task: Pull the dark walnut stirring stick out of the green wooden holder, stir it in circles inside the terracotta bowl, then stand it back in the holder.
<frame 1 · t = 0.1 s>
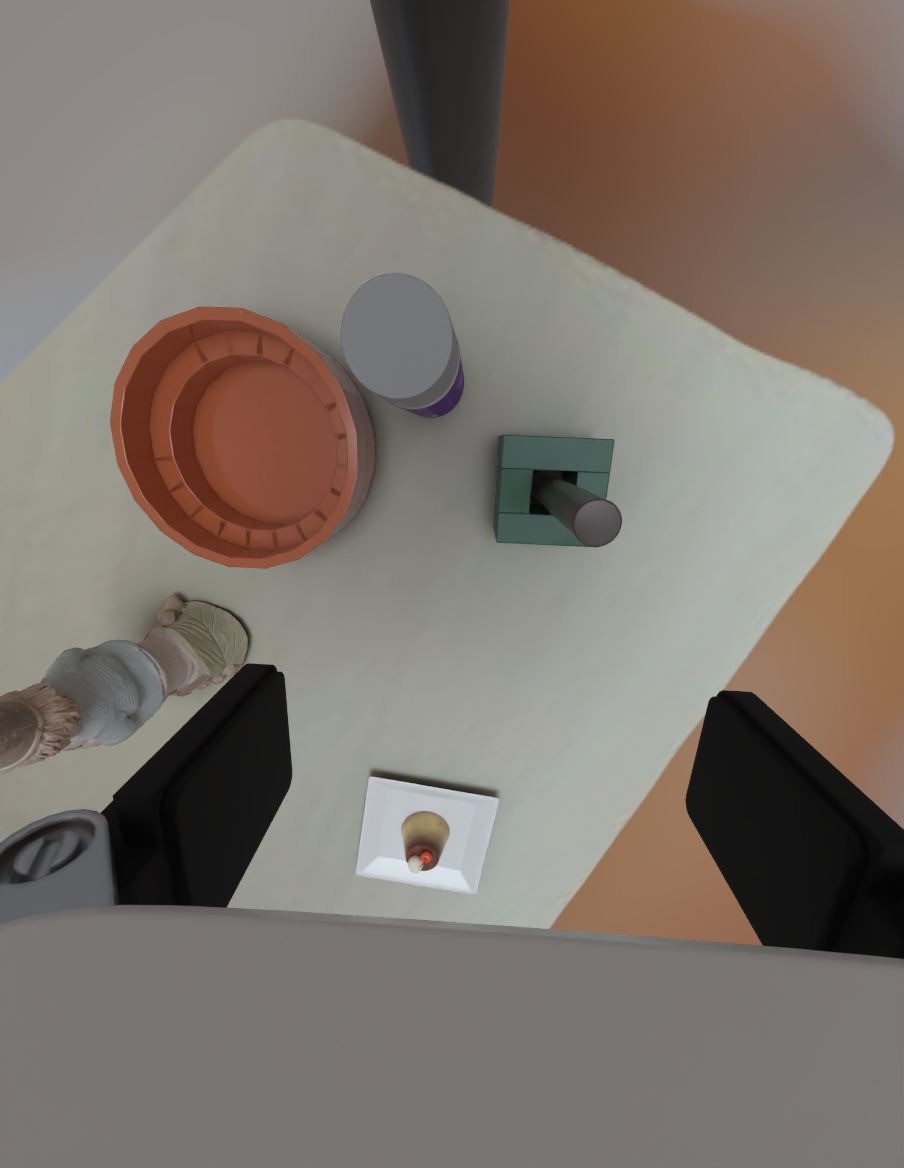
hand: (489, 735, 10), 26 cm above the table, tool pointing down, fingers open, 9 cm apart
holder: (542, 485, 34), on the table
figurine: (198, 637, 39), on the table
container: (431, 382, 32), on the table
stick: (561, 499, 26), in the holder
bowl: (274, 446, 34), on the table
dessert: (425, 827, 45), on the table
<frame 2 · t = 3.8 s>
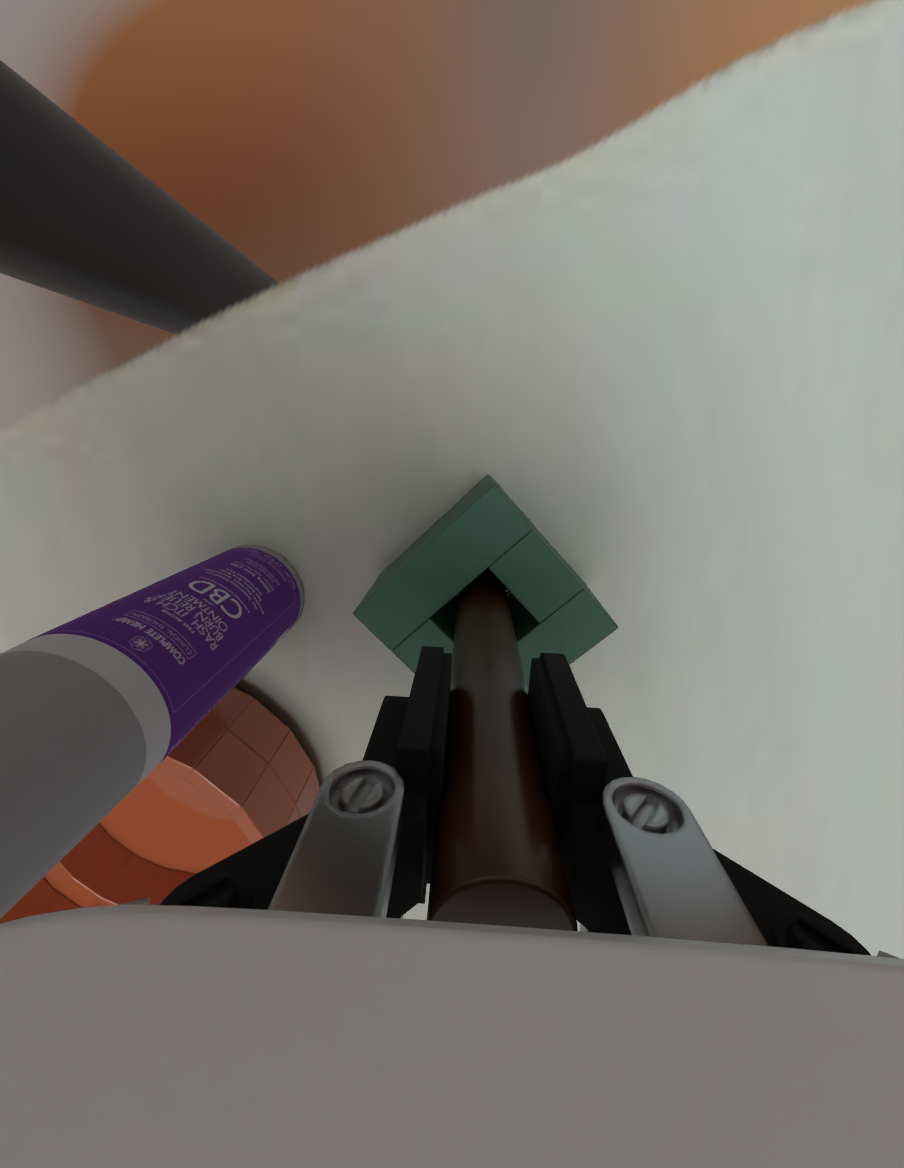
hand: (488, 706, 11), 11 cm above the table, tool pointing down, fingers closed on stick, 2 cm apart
holder: (482, 580, 21), on the table
container: (258, 591, 22), on the table
stick: (485, 658, 14), in the holder, touching gripper
bowl: (190, 783, 26), on the table
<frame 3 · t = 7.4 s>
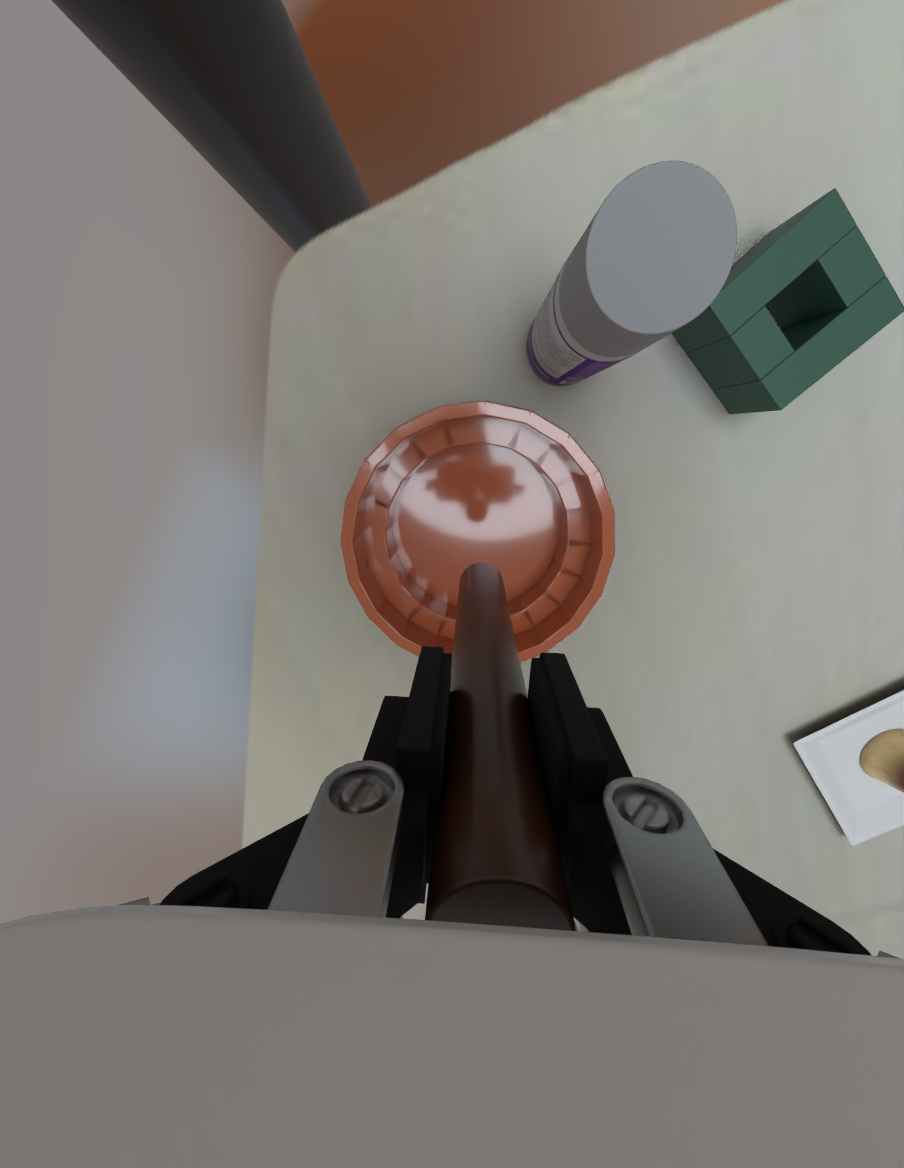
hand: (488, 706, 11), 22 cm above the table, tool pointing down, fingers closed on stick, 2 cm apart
holder: (748, 328, 27), on the table
container: (564, 345, 28), on the table
stick: (485, 661, 14), point 19 cm above the table, touching gripper
bowl: (475, 527, 32), on the table
dessert: (886, 750, 36), on the table
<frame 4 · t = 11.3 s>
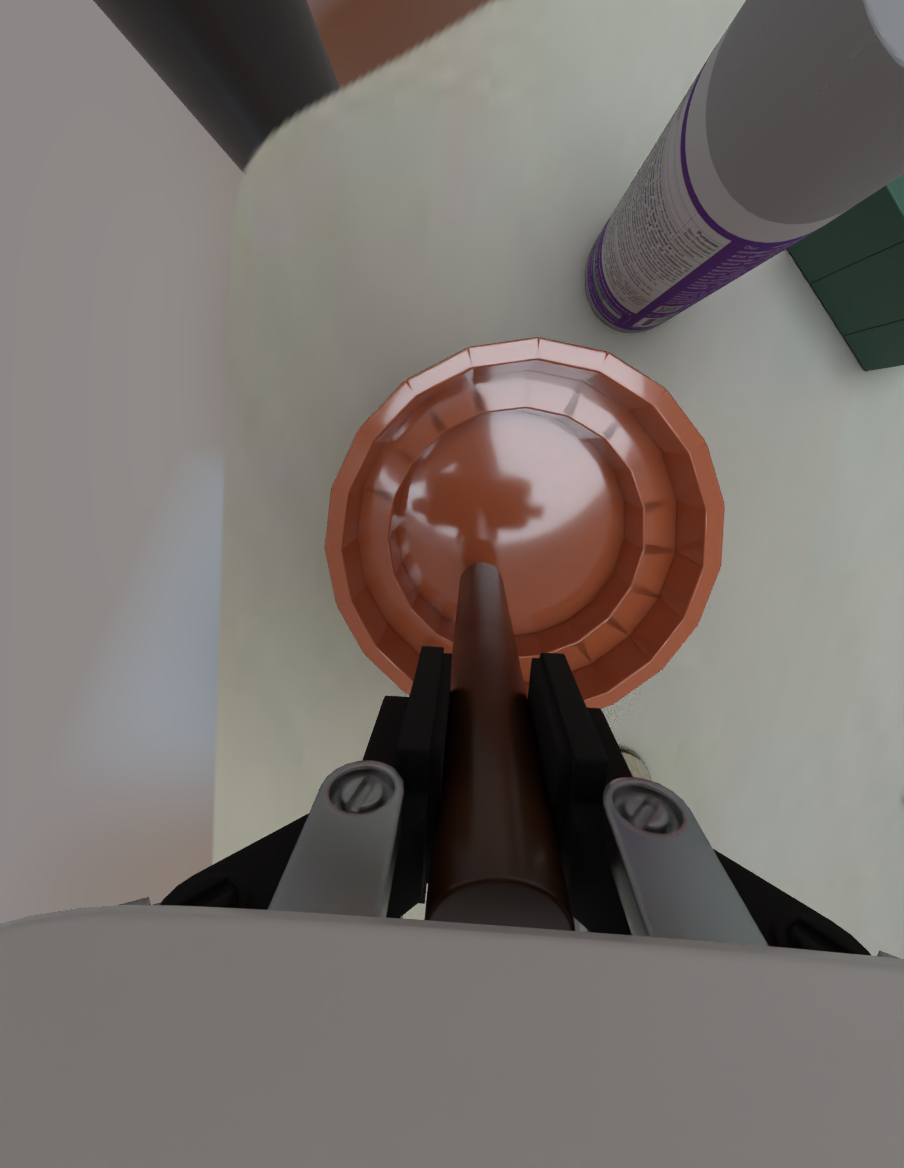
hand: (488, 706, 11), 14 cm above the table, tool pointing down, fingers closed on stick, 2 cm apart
holder: (900, 247, 19), on the table
figurine: (578, 798, 29), on the table
container: (637, 274, 20), on the table
stick: (485, 660, 14), point 11 cm above the table, touching gripper
bowl: (508, 529, 24), on the table
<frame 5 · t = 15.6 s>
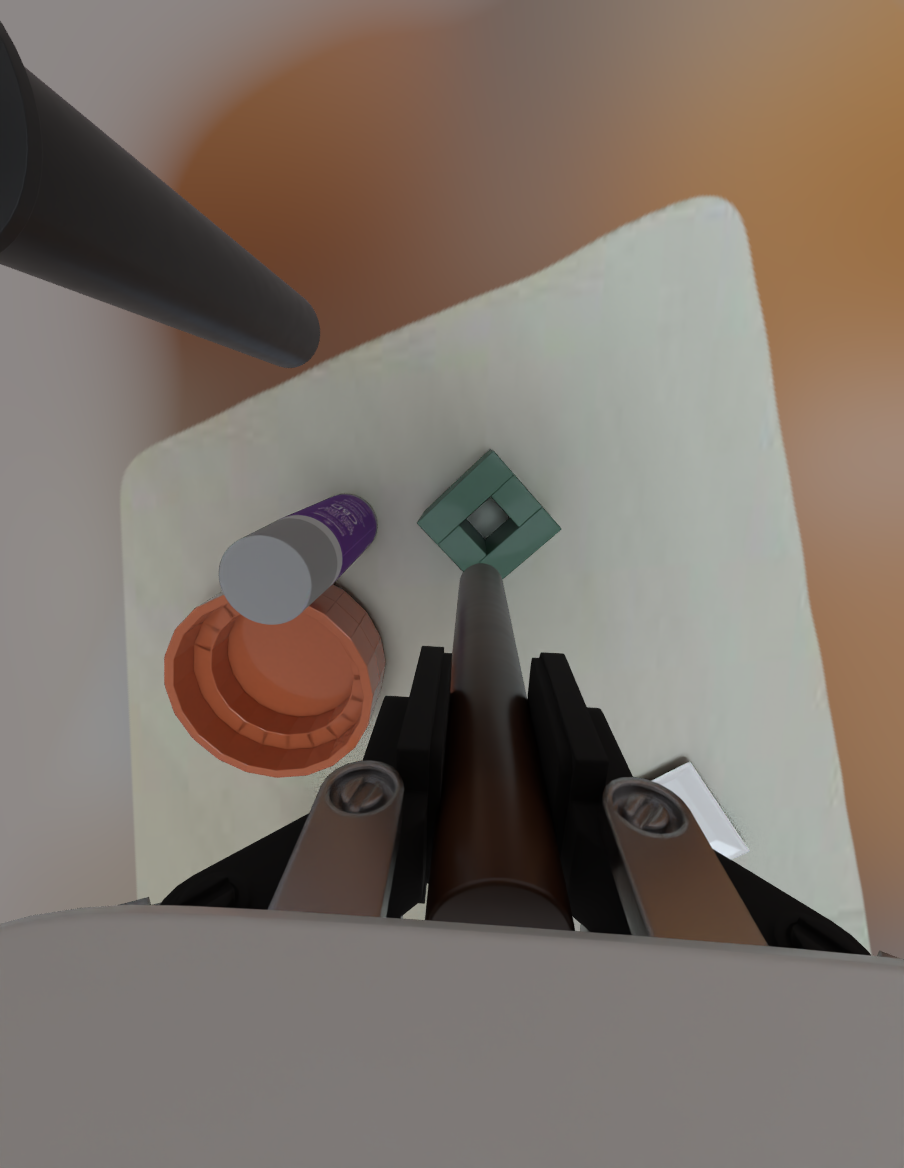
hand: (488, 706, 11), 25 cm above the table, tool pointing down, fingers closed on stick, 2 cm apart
holder: (486, 514, 35), on the table
container: (348, 523, 36), on the table
stick: (485, 662, 14), point 23 cm above the table, touching gripper
bowl: (297, 654, 39), on the table
dessert: (655, 825, 44), on the table
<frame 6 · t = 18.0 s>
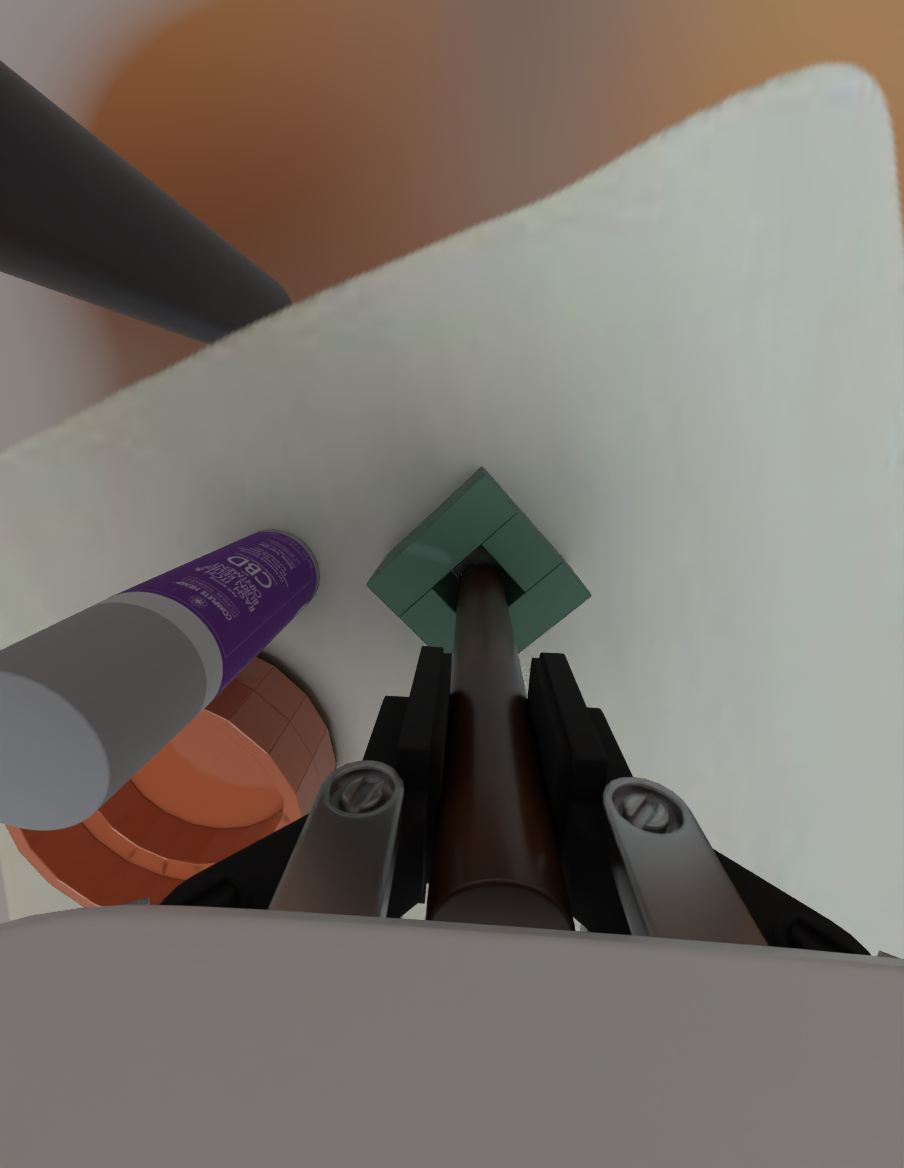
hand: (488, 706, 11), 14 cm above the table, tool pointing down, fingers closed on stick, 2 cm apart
holder: (476, 560, 24), on the table
container: (278, 571, 25), on the table
stick: (485, 662, 14), point 11 cm above the table, touching gripper
bowl: (215, 746, 28), on the table
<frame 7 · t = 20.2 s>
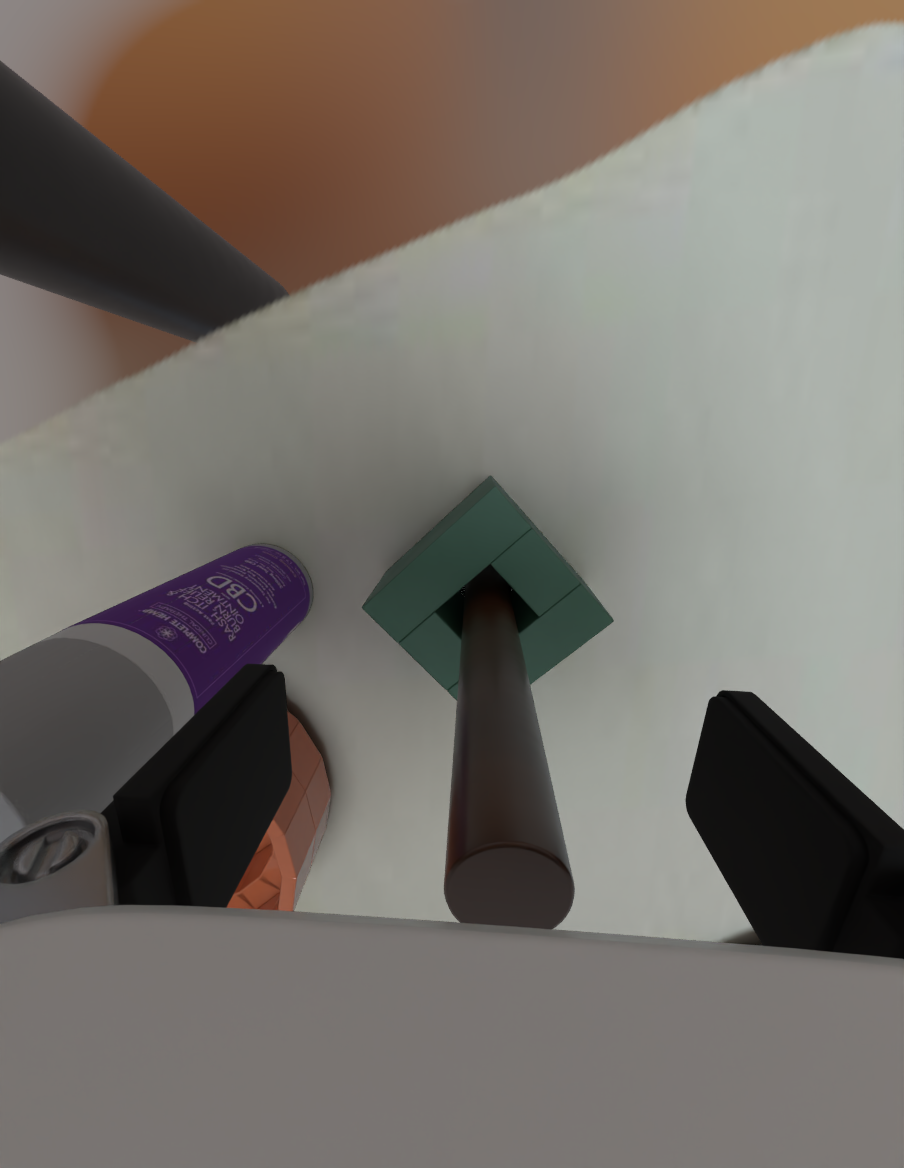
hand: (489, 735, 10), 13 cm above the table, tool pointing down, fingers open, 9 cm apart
holder: (484, 576, 22), on the table
container: (269, 587, 23), on the table
stick: (491, 657, 15), in the holder
bowl: (202, 773, 27), on the table
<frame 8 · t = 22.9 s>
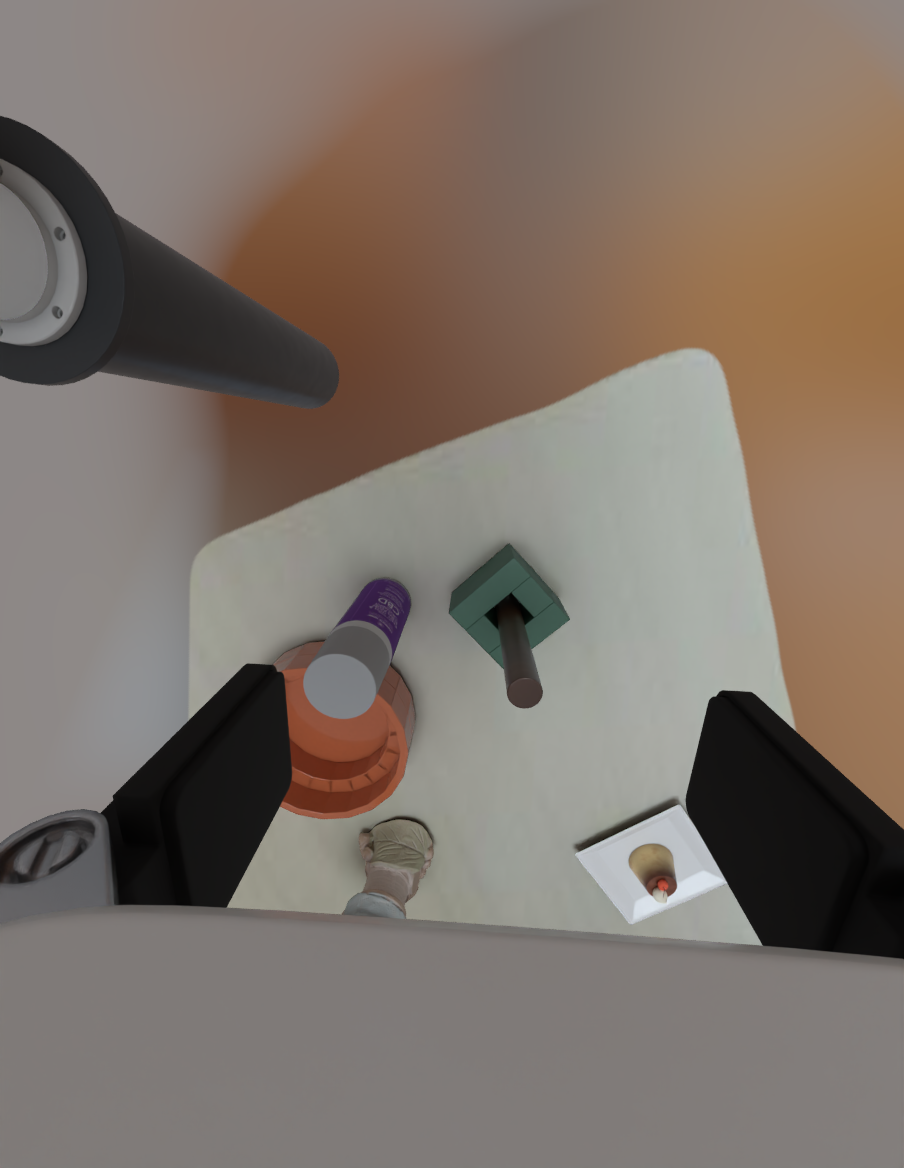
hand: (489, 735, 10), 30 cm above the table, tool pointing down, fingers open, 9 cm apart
holder: (505, 595, 41), on the table
figurine: (395, 844, 51), on the table
container: (386, 601, 42), on the table
stick: (513, 635, 33), in the holder
bowl: (338, 709, 45), on the table
dessert: (649, 857, 49), on the table
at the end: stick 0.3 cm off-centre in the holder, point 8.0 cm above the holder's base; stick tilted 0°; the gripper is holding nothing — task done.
